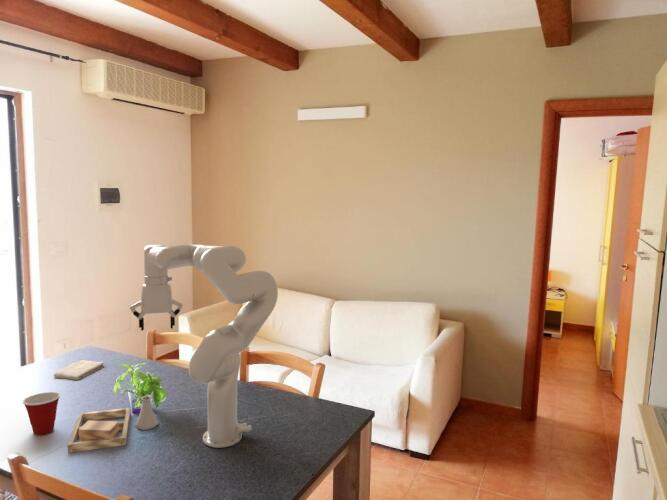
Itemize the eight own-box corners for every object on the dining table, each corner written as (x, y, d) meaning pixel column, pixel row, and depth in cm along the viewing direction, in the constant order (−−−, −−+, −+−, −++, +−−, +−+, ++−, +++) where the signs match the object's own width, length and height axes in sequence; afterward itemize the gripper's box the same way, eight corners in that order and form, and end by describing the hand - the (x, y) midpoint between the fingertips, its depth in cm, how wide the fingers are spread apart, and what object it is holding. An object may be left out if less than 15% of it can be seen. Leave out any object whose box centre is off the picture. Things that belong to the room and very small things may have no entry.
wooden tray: (130, 414, 178) (130, 407, 177) (125, 445, 157) (125, 437, 157) (79, 420, 172) (79, 413, 172) (68, 452, 152) (67, 445, 151)
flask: (162, 424, 171) (162, 396, 170) (144, 432, 165) (144, 404, 164) (149, 418, 175) (148, 391, 174) (131, 426, 169) (130, 398, 168)
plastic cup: (56, 420, 172) (54, 387, 170) (66, 431, 164) (64, 397, 163) (20, 430, 164) (18, 396, 163) (29, 442, 157) (27, 407, 155)
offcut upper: (119, 430, 161) (118, 421, 161) (110, 439, 155) (110, 430, 155) (88, 429, 161) (88, 420, 161) (78, 438, 155) (78, 429, 155)
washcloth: (105, 366, 223) (105, 360, 223) (78, 382, 206) (78, 374, 205) (82, 364, 225) (82, 357, 225) (53, 379, 208) (53, 372, 208)
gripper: (182, 277, 177) (182, 324, 179) (129, 279, 171) (131, 327, 174) (182, 281, 170) (183, 329, 172) (128, 283, 164) (129, 333, 166)
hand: (157, 328), depth 173 cm, fingers open, 9 cm apart
